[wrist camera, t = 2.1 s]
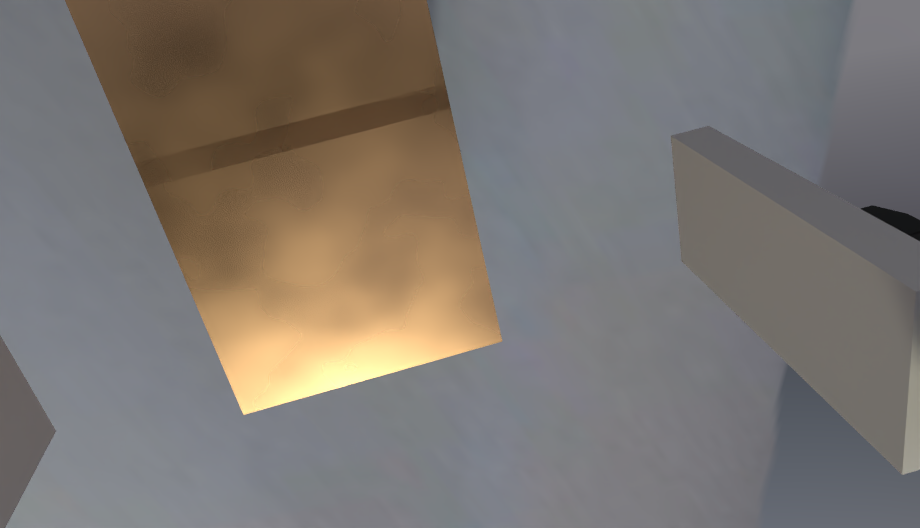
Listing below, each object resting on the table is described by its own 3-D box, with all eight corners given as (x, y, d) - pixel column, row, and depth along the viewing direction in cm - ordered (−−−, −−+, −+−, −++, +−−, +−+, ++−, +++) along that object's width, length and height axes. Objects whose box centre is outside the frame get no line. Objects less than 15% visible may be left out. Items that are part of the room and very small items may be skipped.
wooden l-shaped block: (270, 220, 27) (243, 414, 17) (146, -127, 22) (-9, -170, 11) (428, 178, 28) (502, 341, 17) (342, -172, 23) (370, -255, 12)
